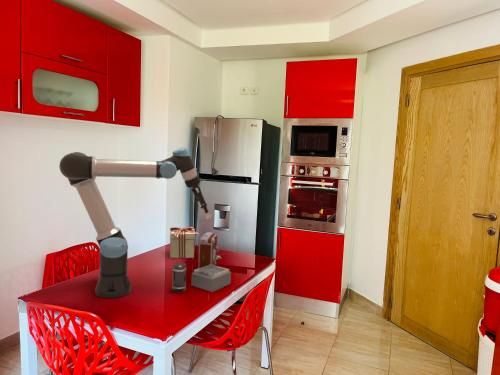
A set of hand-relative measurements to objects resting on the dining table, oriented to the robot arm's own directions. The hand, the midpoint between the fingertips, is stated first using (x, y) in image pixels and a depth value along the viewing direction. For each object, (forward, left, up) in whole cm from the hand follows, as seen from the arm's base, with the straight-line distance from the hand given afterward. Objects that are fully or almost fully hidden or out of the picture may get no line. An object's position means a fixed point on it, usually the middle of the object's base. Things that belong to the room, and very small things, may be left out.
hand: (206, 214), depth 193 cm
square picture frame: (-9, -12, -26) cm, 30 cm away
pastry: (+23, +13, -32) cm, 42 cm away
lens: (-24, -5, -32) cm, 40 cm away
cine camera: (+7, +3, -32) cm, 33 cm away
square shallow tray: (-9, -12, -32) cm, 35 cm away
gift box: (+18, +32, -32) cm, 48 cm away
